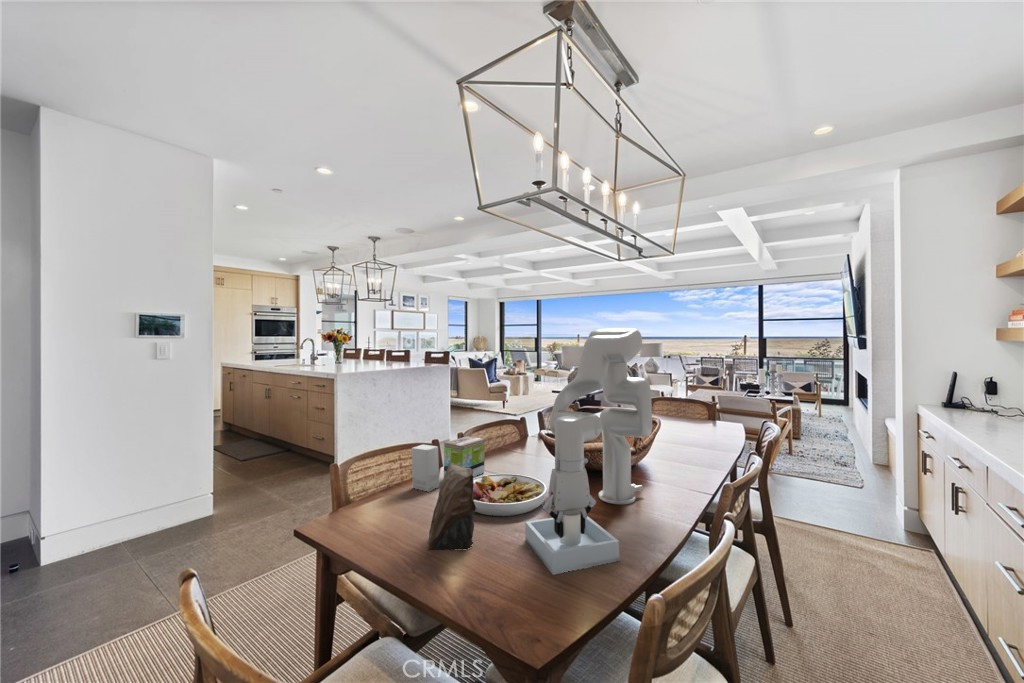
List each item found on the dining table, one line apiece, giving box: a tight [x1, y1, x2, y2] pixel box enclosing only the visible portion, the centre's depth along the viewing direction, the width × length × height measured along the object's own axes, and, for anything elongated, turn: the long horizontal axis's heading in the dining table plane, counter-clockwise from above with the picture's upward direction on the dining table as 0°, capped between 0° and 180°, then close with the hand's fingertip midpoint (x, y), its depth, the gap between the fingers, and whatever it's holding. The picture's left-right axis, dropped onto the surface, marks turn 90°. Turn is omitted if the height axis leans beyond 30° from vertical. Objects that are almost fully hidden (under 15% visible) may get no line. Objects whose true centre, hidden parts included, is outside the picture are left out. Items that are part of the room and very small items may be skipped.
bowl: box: [473, 473, 548, 517], centre depth 141 cm, size 30×30×8 cm
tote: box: [524, 515, 620, 576], centre depth 107 cm, size 18×18×5 cm
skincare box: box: [411, 444, 440, 493], centre depth 154 cm, size 8×7×16 cm
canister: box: [560, 508, 581, 546], centre depth 107 cm, size 6×6×9 cm
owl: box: [427, 463, 476, 552], centre depth 112 cm, size 13×13×20 cm
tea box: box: [443, 435, 486, 478], centre depth 168 cm, size 15×10×15 cm, turn 148°
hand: (569, 532), depth 107 cm, fingers closed on canister, 5 cm apart
